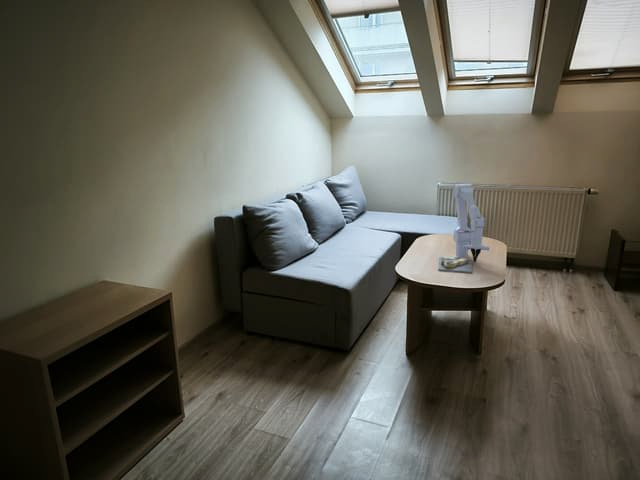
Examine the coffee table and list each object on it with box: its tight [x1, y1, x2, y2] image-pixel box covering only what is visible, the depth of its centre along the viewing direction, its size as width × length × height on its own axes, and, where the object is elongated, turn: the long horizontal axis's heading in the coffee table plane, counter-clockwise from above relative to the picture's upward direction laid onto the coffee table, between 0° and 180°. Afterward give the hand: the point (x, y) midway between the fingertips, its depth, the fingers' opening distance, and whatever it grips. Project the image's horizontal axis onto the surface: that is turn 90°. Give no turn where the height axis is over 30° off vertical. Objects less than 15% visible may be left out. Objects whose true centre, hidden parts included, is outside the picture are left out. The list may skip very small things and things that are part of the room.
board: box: [437, 257, 473, 274], centre depth 257 cm, size 21×18×1 cm
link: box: [444, 258, 470, 268], centre depth 255 cm, size 18×4×3 cm, turn 124°
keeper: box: [440, 255, 454, 265], centre depth 256 cm, size 3×6×4 cm, turn 74°
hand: (474, 261), depth 258 cm, fingers closed
